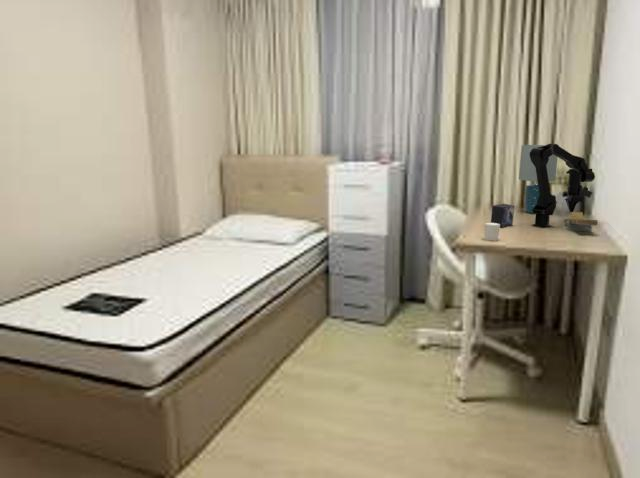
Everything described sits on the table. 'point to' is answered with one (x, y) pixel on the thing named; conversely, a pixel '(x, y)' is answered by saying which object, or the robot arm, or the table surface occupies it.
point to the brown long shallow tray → (581, 222)
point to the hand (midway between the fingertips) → (571, 213)
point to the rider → (575, 215)
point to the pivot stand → (579, 228)
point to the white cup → (491, 231)
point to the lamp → (533, 175)
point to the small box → (502, 214)
